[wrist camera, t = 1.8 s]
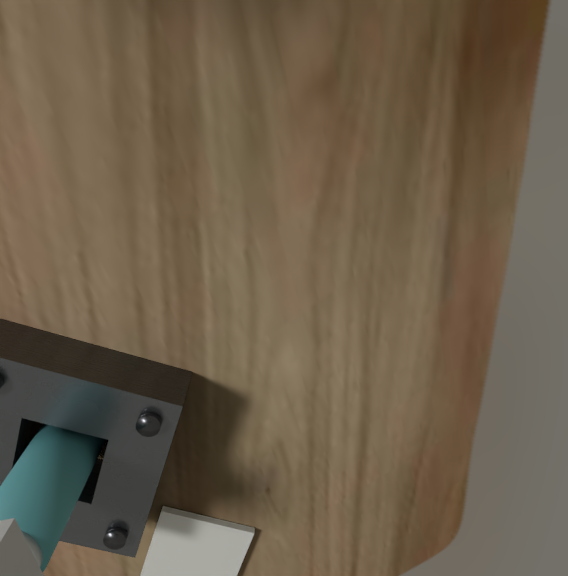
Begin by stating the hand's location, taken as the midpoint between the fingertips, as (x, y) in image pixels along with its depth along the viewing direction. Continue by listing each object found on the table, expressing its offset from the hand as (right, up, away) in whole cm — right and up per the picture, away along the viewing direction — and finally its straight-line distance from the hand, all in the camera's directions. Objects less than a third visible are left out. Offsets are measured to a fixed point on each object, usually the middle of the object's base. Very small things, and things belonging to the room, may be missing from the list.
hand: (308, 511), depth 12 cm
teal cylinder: (-16, -5, +28) cm, 33 cm away
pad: (-8, -18, +33) cm, 38 cm away
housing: (-16, -5, +28) cm, 33 cm away
